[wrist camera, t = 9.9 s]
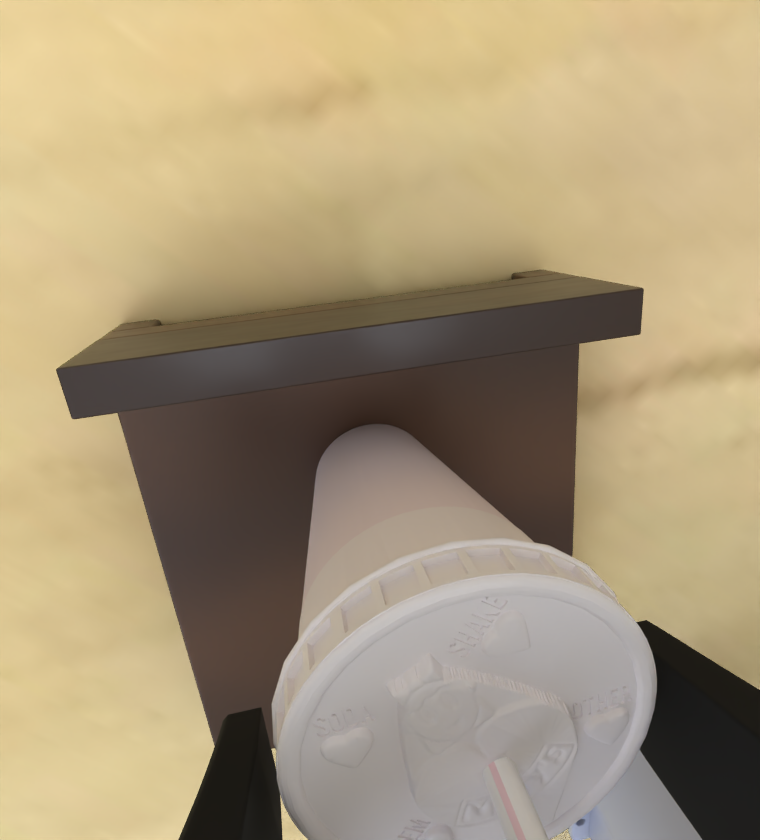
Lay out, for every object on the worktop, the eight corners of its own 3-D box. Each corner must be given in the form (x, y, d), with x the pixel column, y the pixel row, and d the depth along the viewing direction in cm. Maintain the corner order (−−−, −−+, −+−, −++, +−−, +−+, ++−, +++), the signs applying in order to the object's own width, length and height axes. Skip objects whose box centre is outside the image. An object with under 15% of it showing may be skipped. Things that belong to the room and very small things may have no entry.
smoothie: (352, 596, 19) (526, 1404, 6) (227, 467, 17) (66, 1358, 4) (503, 486, 19) (1033, 1098, 6) (397, 338, 16) (901, 818, 3)
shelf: (541, 635, 25) (611, 743, 20) (224, 707, 23) (210, 847, 18) (544, 269, 19) (644, 287, 14) (119, 323, 17) (55, 369, 12)
